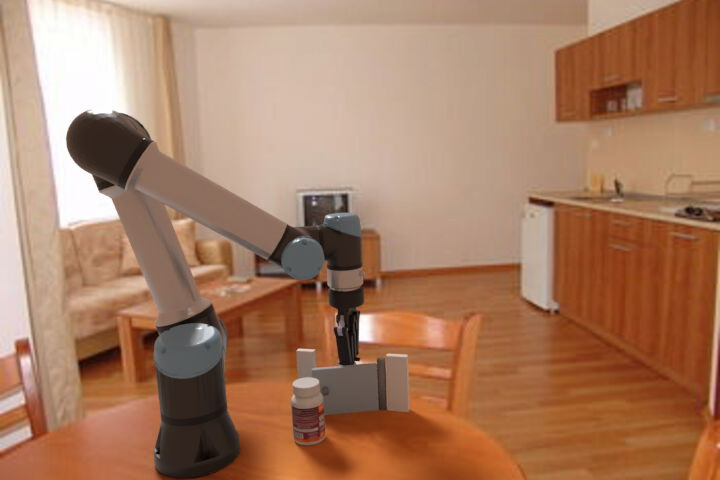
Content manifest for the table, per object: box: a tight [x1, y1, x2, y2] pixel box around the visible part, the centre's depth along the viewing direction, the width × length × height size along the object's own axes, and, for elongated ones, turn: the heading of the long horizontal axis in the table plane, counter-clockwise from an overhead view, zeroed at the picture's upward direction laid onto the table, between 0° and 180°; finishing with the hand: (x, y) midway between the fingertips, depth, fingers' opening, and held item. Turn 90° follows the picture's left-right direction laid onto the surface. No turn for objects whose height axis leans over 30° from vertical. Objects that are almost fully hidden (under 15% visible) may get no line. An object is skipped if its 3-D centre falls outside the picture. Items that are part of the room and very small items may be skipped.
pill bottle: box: [290, 377, 326, 446], centre depth 108 cm, size 6×6×11 cm
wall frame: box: [295, 348, 411, 413], centre depth 121 cm, size 24×2×12 cm, turn 75°
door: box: [312, 357, 388, 416], centre depth 118 cm, size 15×3×11 cm, turn 96°
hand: (351, 391), depth 123 cm, fingers closed
